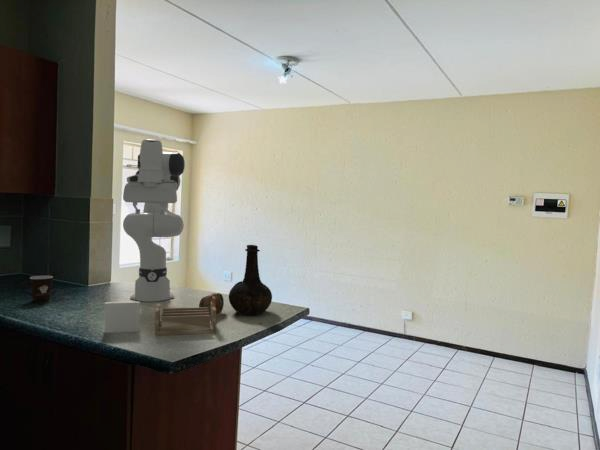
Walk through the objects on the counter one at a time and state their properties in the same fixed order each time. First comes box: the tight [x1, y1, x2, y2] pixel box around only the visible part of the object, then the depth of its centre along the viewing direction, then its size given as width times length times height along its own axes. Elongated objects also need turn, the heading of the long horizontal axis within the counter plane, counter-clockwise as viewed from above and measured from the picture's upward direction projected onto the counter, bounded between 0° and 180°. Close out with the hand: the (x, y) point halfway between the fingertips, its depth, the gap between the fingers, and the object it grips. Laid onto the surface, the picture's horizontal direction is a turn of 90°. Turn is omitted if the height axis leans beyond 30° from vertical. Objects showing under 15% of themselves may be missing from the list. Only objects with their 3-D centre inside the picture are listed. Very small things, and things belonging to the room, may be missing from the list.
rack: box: [154, 296, 217, 336], centre depth 158 cm, size 13×20×11 cm, turn 105°
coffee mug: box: [19, 275, 54, 303], centre depth 192 cm, size 12×9×10 cm
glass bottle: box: [228, 244, 273, 316], centre depth 184 cm, size 18×18×28 cm
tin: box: [198, 292, 225, 316], centre depth 177 cm, size 15×3×8 cm, turn 160°
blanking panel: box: [104, 300, 141, 334], centre depth 153 cm, size 2×11×10 cm, turn 105°
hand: (150, 214), depth 177 cm, fingers open, 8 cm apart
